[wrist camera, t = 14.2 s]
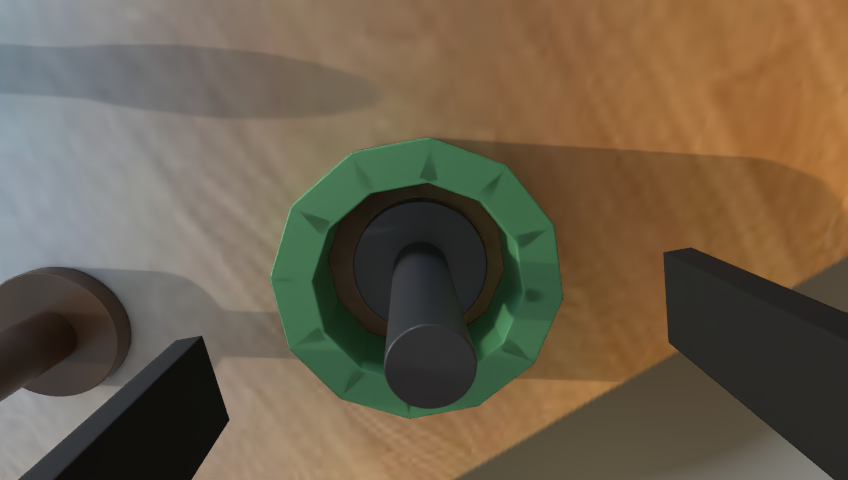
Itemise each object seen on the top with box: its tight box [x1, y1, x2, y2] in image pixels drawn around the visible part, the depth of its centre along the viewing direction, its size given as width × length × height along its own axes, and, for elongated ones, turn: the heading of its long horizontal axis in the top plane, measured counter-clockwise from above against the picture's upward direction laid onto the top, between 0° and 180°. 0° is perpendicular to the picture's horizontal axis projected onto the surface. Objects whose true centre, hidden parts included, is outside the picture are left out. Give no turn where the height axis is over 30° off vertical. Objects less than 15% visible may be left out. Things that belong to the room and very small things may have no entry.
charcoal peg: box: [353, 198, 487, 409], centre depth 16 cm, size 6×6×10 cm
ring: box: [270, 138, 563, 419], centre depth 20 cm, size 11×11×4 cm
